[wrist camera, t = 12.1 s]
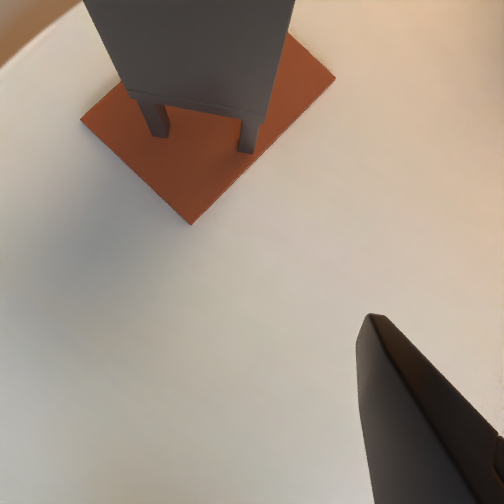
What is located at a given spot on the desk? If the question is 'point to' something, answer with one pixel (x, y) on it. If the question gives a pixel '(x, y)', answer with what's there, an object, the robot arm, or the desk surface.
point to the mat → (204, 135)
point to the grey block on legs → (196, 56)
